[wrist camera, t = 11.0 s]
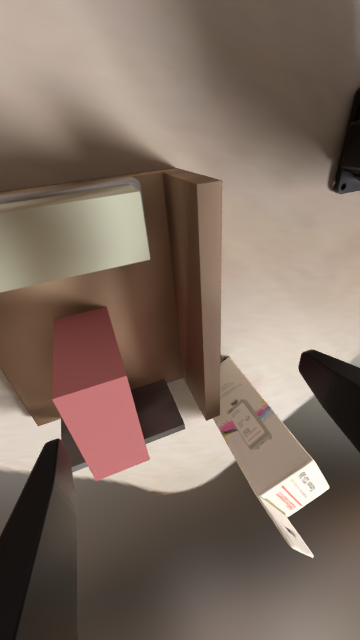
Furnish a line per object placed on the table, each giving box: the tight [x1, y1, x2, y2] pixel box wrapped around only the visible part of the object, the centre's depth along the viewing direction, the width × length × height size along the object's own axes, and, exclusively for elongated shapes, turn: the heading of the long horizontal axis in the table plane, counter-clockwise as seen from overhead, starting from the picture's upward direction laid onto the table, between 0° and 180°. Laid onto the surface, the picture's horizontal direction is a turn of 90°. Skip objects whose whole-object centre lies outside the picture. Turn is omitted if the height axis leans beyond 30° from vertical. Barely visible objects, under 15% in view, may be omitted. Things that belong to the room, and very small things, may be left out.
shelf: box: [0, 168, 222, 472], centre depth 18 cm, size 14×17×6 cm
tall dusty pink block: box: [52, 307, 150, 481], centre depth 18 cm, size 4×8×7 cm, turn 4°
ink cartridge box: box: [213, 357, 329, 558], centre depth 25 cm, size 9×5×15 cm, turn 31°
